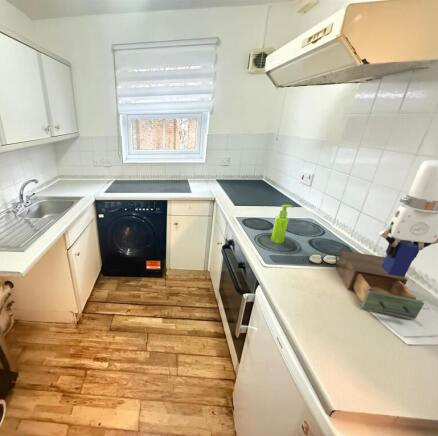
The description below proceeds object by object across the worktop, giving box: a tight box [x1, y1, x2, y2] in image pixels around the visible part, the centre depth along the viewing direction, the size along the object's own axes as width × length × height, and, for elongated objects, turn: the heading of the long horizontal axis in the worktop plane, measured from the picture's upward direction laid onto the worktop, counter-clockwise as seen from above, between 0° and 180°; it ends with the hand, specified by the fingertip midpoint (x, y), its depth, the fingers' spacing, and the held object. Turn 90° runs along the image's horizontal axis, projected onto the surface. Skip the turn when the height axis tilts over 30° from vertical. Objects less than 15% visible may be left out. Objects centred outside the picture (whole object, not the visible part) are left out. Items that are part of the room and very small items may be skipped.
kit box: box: [382, 240, 419, 278], centre depth 76 cm, size 4×5×11 cm
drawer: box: [352, 273, 425, 321], centre depth 80 cm, size 19×13×7 cm
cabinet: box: [334, 250, 408, 292], centre depth 92 cm, size 16×15×9 cm
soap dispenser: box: [270, 204, 294, 244], centre depth 122 cm, size 6×7×20 cm
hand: (399, 256), depth 76 cm, fingers closed on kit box, 4 cm apart
